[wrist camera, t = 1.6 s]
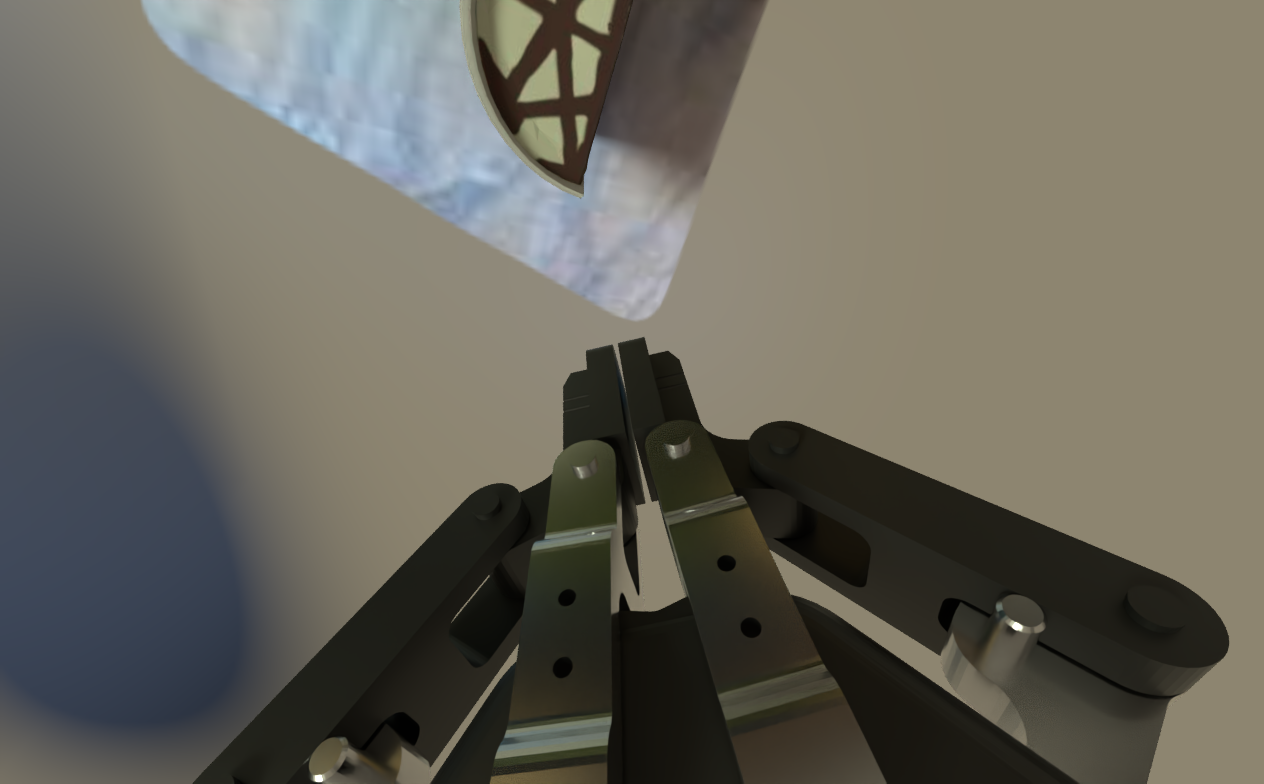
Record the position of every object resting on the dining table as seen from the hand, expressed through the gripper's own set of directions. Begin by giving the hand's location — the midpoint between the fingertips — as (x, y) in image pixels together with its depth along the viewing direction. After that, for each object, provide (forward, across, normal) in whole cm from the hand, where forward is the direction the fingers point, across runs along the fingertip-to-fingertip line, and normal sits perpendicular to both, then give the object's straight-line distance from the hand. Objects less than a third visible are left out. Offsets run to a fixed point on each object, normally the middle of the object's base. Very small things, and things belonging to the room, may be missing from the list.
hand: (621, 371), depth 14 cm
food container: (+21, 0, -8) cm, 23 cm away
